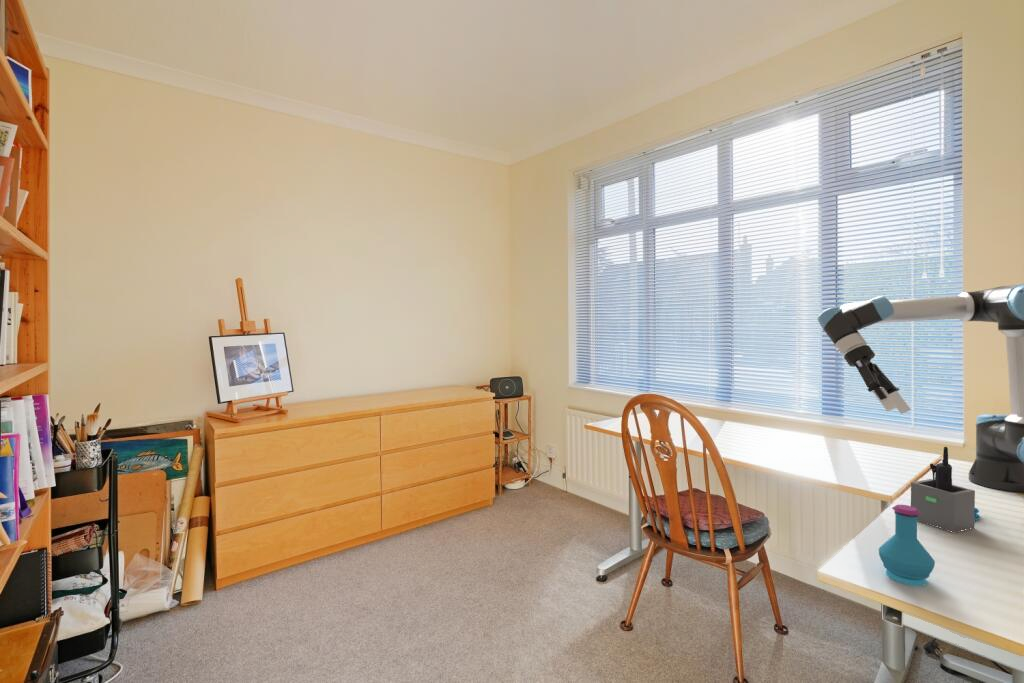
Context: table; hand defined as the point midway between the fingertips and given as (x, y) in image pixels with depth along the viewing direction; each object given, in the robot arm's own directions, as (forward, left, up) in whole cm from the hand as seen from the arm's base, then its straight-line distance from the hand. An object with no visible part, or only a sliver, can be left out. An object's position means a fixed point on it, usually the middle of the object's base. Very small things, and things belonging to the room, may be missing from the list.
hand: (899, 410), depth 140 cm
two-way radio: (+4, +13, -22) cm, 26 cm away
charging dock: (+4, +13, -28) cm, 31 cm away
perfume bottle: (+42, +28, -28) cm, 58 cm away
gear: (-6, +12, -28) cm, 31 cm away
